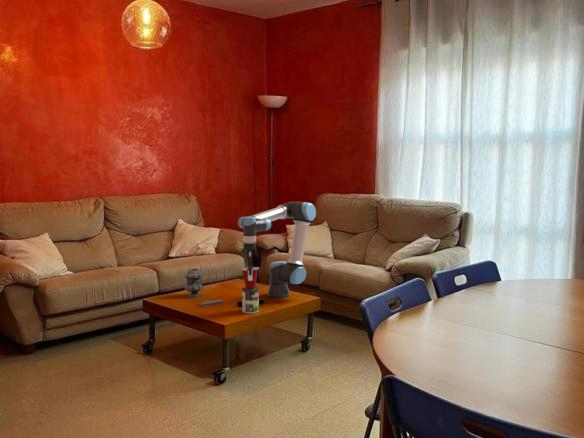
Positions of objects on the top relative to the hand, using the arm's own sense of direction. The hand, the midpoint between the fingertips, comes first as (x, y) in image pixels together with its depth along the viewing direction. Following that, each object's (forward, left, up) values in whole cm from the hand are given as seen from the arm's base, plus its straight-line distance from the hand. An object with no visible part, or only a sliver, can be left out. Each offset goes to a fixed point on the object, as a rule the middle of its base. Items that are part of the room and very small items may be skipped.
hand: (250, 278), depth 333 cm
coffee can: (0, 0, -21) cm, 21 cm away
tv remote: (+25, -18, -21) cm, 37 cm away
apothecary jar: (+38, -40, -21) cm, 59 cm away
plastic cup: (0, 0, -6) cm, 6 cm away
